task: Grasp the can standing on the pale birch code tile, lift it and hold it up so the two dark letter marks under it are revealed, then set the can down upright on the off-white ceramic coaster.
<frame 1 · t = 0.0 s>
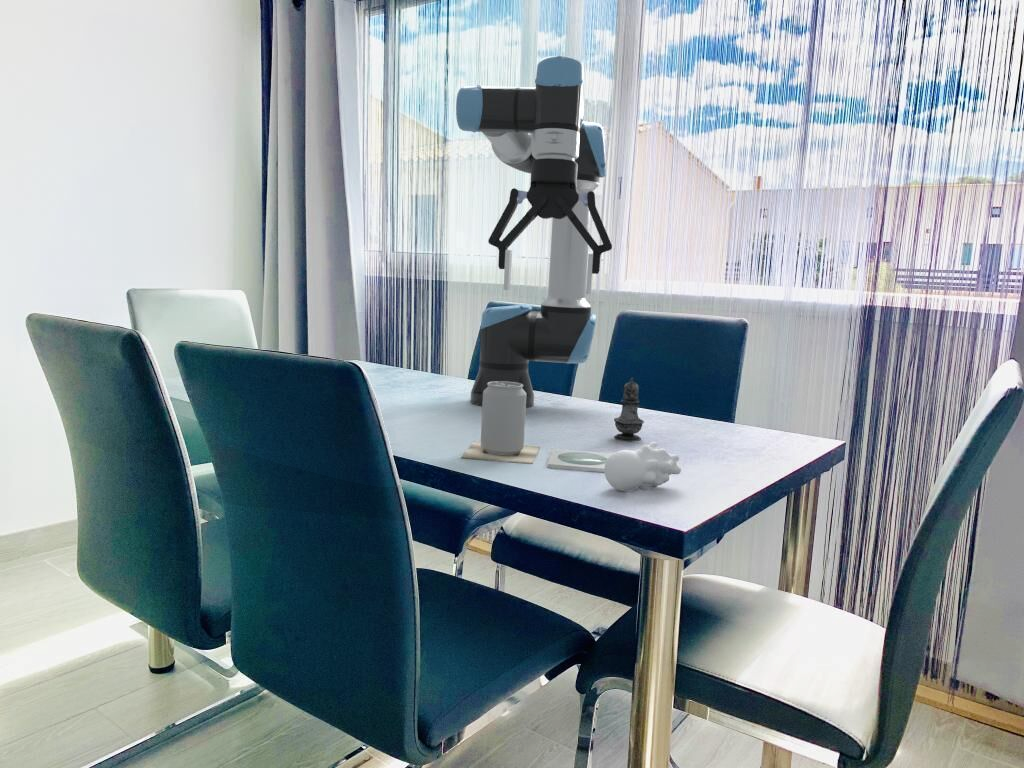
hand: (547, 292, 125), 28 cm above the table, fingers open, 13 cm apart
coaster: (582, 462, 126), on the table
figurine: (639, 490, 112), on the table
code tile: (501, 452, 130), on the table
can: (501, 452, 130), resting on code tile
salt shaker: (627, 439, 147), on the table
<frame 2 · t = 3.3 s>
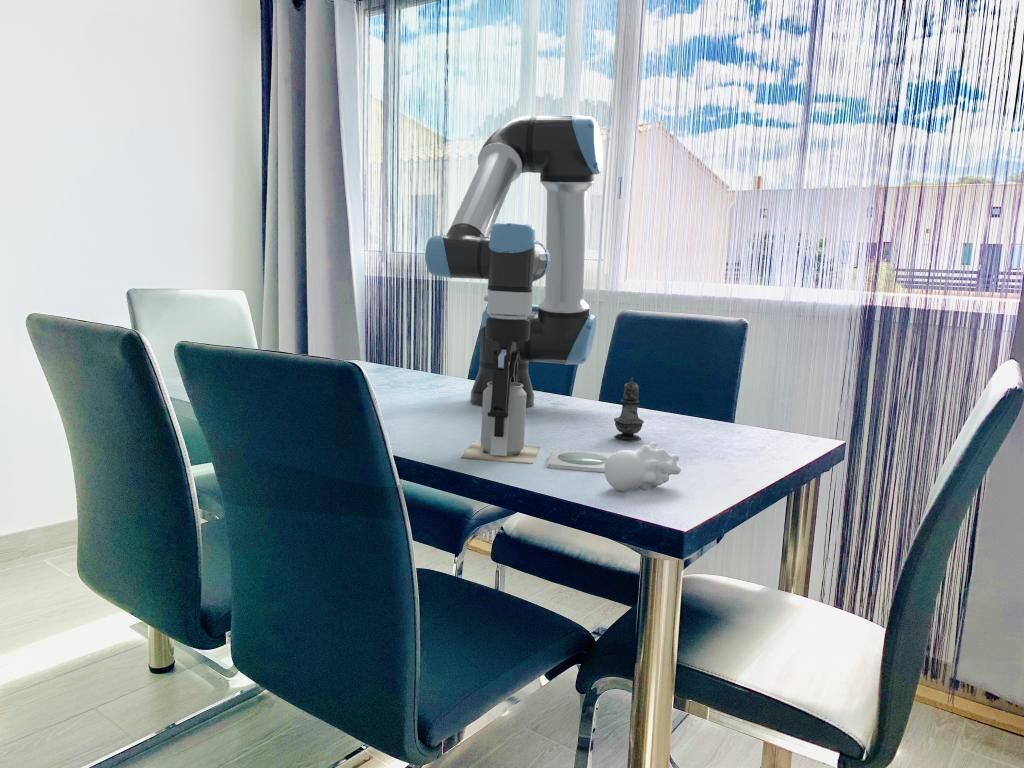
hand: (502, 449, 130), 1 cm above the table, fingers closed on can, 7 cm apart
can: (501, 452, 130), resting on code tile, touching gripper
everything else where it was.
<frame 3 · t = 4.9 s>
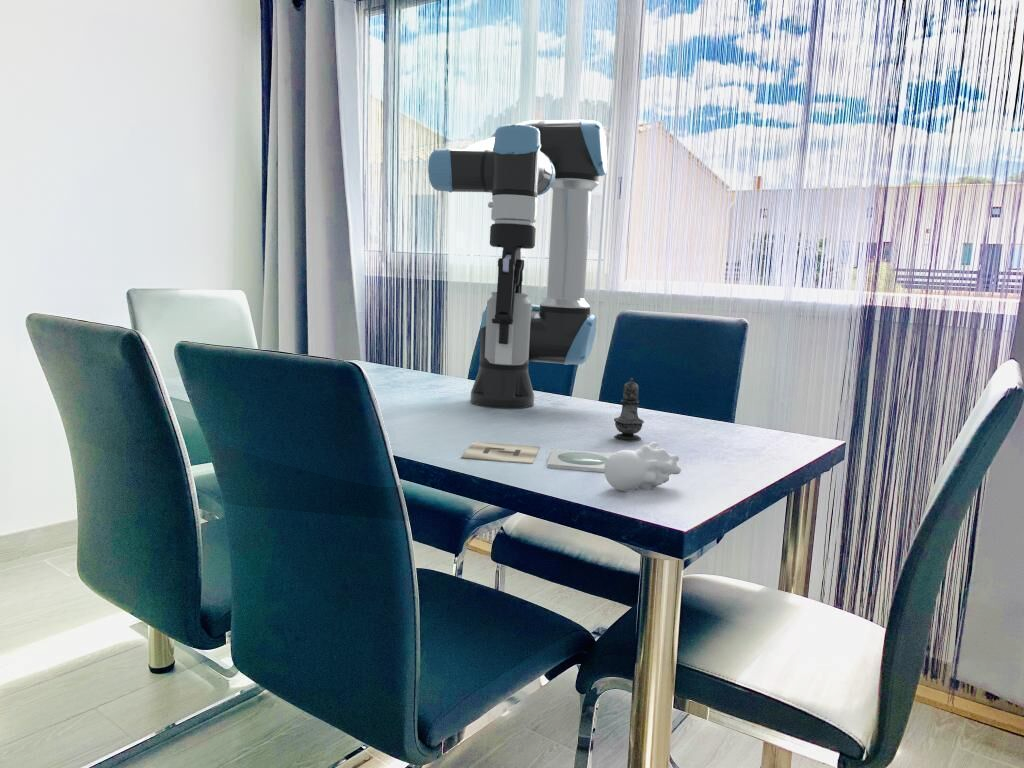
hand: (506, 360, 127), 16 cm above the table, fingers closed on can, 7 cm apart
can: (506, 364, 128), point 15 cm above the table, touching gripper
everything else where it was.
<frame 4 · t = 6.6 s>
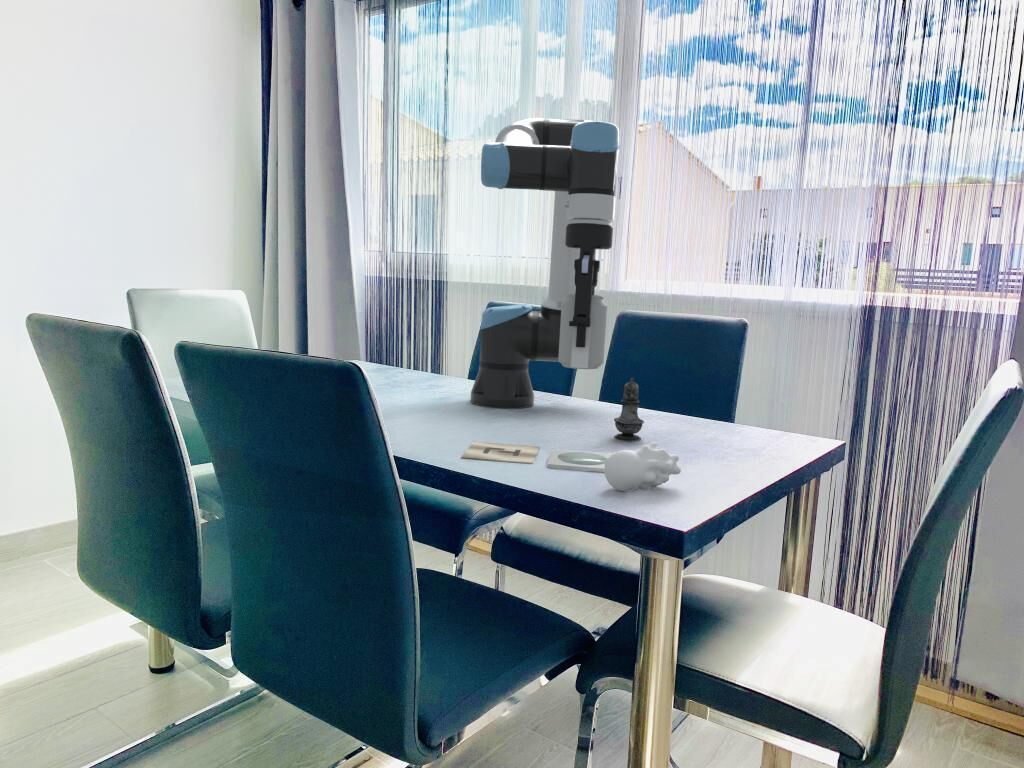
hand: (580, 364, 124), 16 cm above the table, fingers closed on can, 7 cm apart
can: (580, 368, 124), point 16 cm above the table, touching gripper
everything else where it was.
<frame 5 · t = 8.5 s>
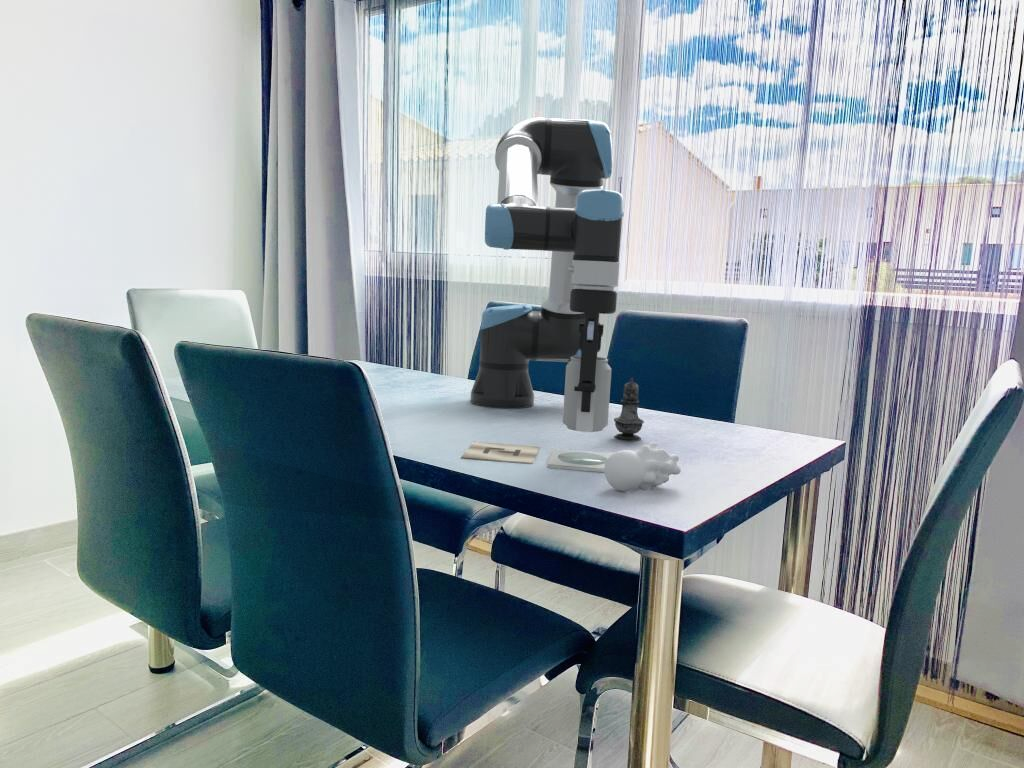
hand: (584, 426, 125), 6 cm above the table, fingers closed on can, 7 cm apart
can: (584, 429, 125), point 6 cm above the table, touching gripper
everything else where it was.
when the fingers open (2 cm above the table, at t = 10.1 s): can drops 1 cm, resting on coaster.
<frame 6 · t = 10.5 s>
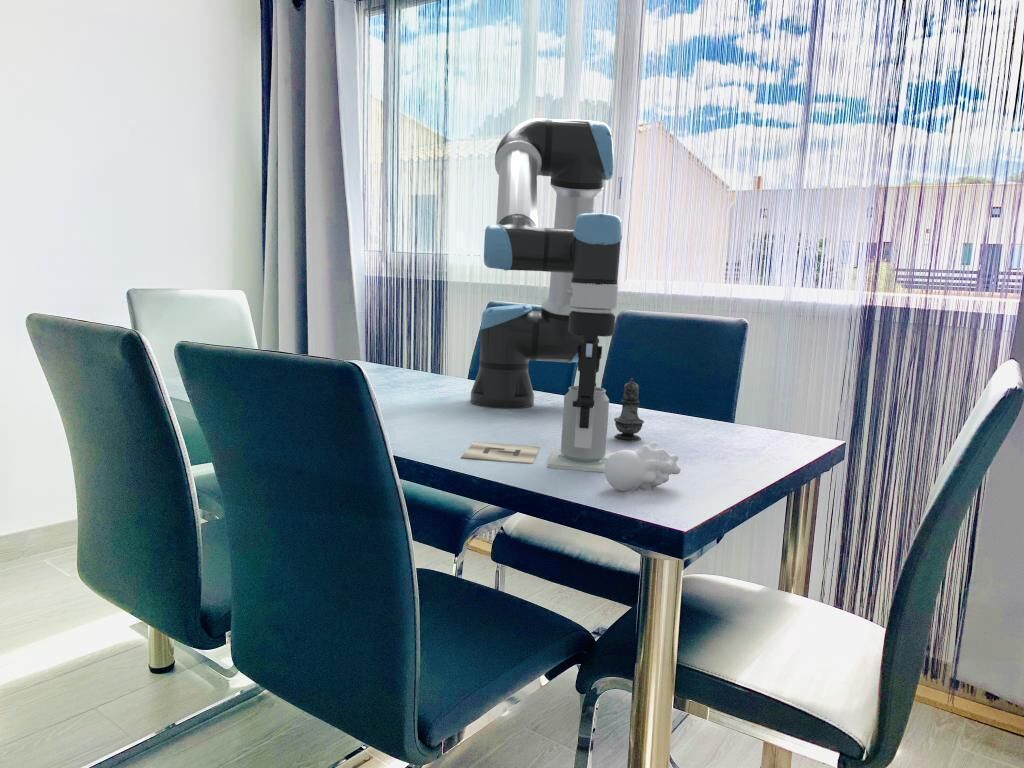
hand: (584, 438, 126), 4 cm above the table, fingers open, 13 cm apart
can: (582, 459, 126), resting on coaster
everything else where it was.
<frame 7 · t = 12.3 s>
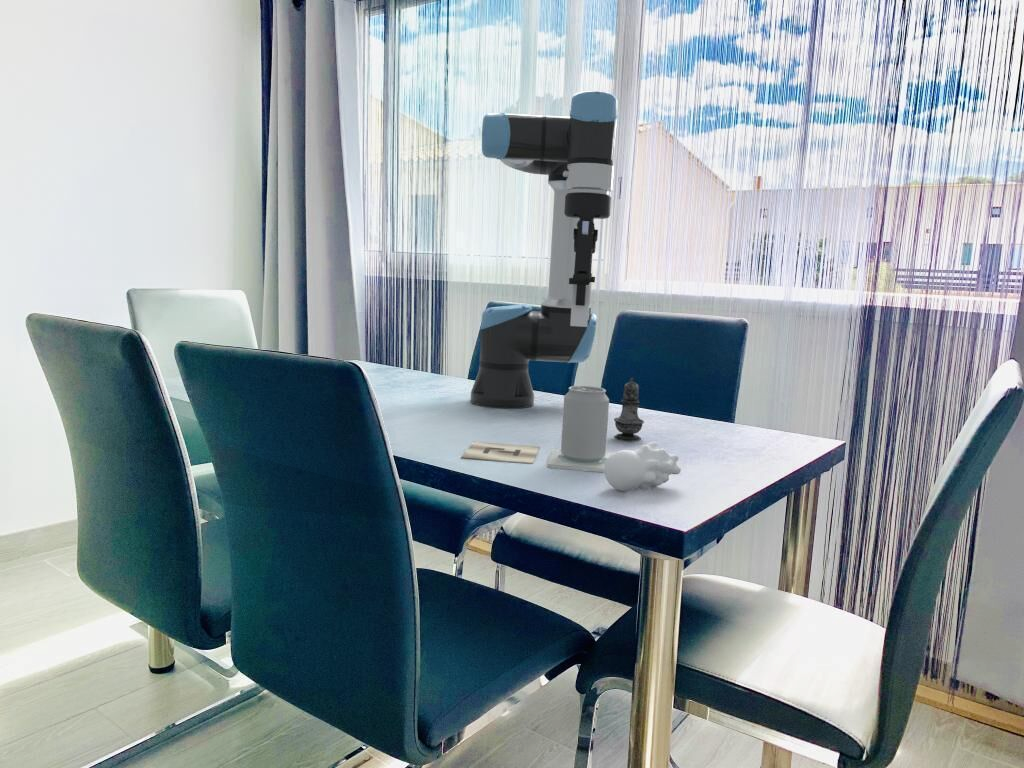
hand: (580, 322, 126), 23 cm above the table, fingers open, 13 cm apart
nothing on the table moved.
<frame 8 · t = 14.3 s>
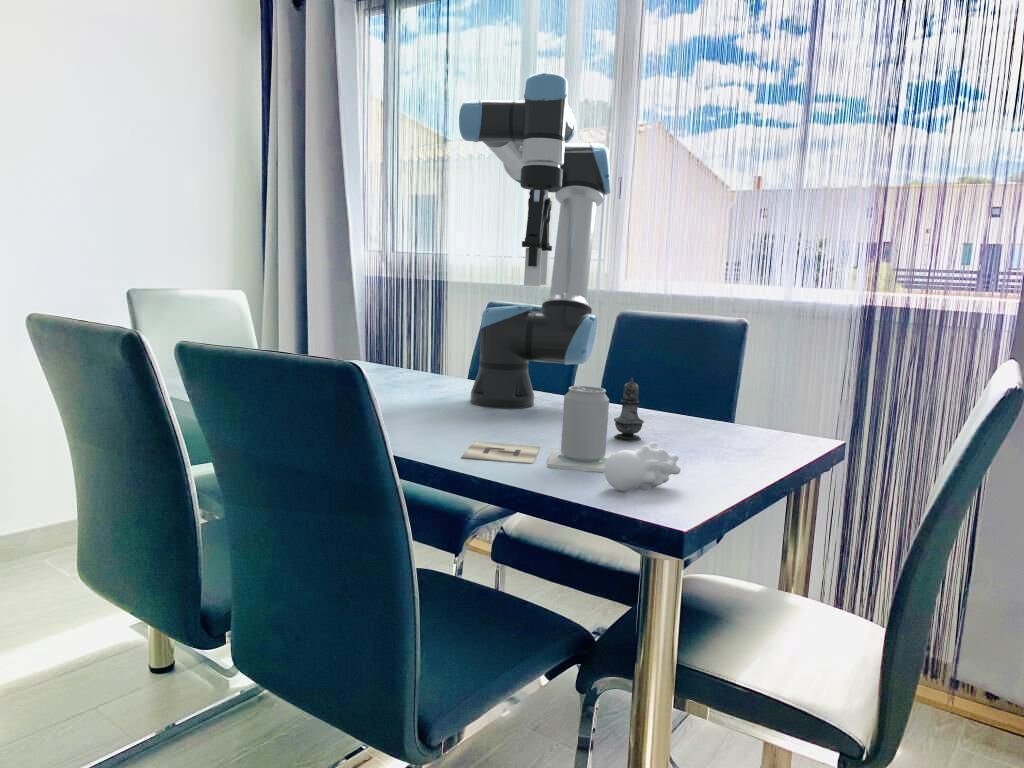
hand: (535, 285, 138), 29 cm above the table, fingers open, 13 cm apart
nothing on the table moved.
at the end: can 0.0 cm from the coaster (horizontally); can tilted 0°; the gripper is holding nothing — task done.
